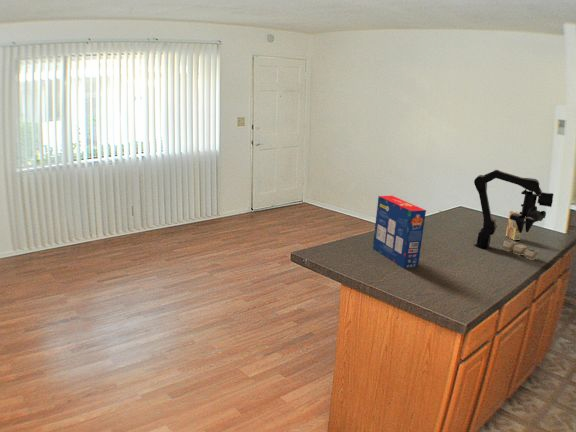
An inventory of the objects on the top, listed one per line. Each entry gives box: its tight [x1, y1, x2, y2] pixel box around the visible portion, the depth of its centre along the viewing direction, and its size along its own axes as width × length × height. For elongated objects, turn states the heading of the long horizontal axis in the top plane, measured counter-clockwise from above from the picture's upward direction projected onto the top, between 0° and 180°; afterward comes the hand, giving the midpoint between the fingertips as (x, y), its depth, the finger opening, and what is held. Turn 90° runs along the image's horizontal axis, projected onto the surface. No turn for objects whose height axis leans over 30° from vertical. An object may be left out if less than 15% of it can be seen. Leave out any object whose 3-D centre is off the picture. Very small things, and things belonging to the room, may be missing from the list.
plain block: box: [512, 244, 528, 255], centre depth 269 cm, size 4×4×4 cm
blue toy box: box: [372, 195, 427, 269], centre depth 249 cm, size 28×8×28 cm, turn 22°
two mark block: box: [502, 239, 517, 252], centre depth 275 cm, size 4×4×5 cm
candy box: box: [505, 210, 522, 241], centre depth 294 cm, size 9×4×15 cm, turn 9°
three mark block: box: [523, 248, 540, 259], centre depth 263 cm, size 4×4×5 cm
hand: (523, 232), depth 267 cm, fingers open, 5 cm apart
